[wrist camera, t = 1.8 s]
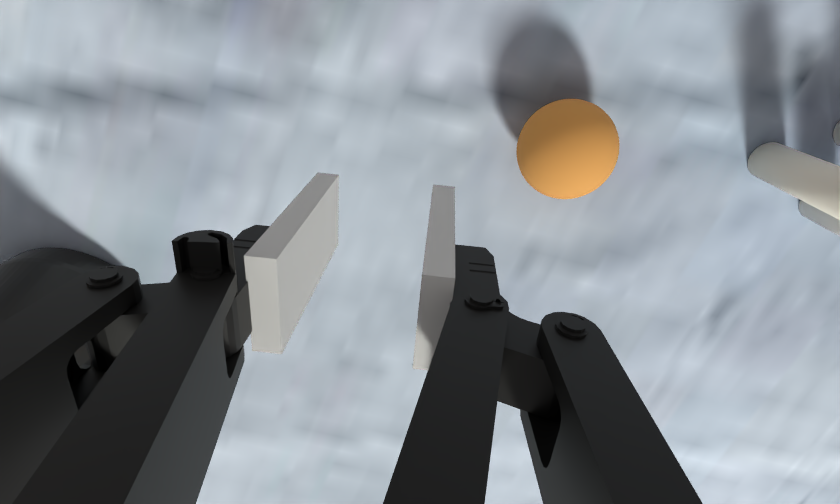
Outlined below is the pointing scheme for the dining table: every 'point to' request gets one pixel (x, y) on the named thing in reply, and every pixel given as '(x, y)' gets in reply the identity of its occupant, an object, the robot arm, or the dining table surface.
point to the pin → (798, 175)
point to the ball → (567, 148)
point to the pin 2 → (837, 134)
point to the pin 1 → (820, 217)
